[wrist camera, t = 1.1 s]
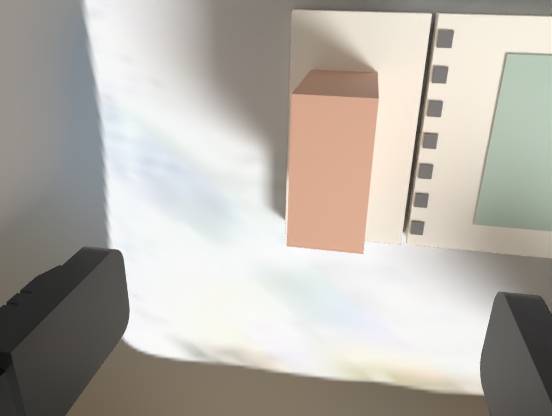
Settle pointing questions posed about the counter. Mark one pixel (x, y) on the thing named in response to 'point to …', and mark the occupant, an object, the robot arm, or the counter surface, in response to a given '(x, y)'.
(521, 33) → the board
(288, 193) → the salmon block with base
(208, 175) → the counter surface
